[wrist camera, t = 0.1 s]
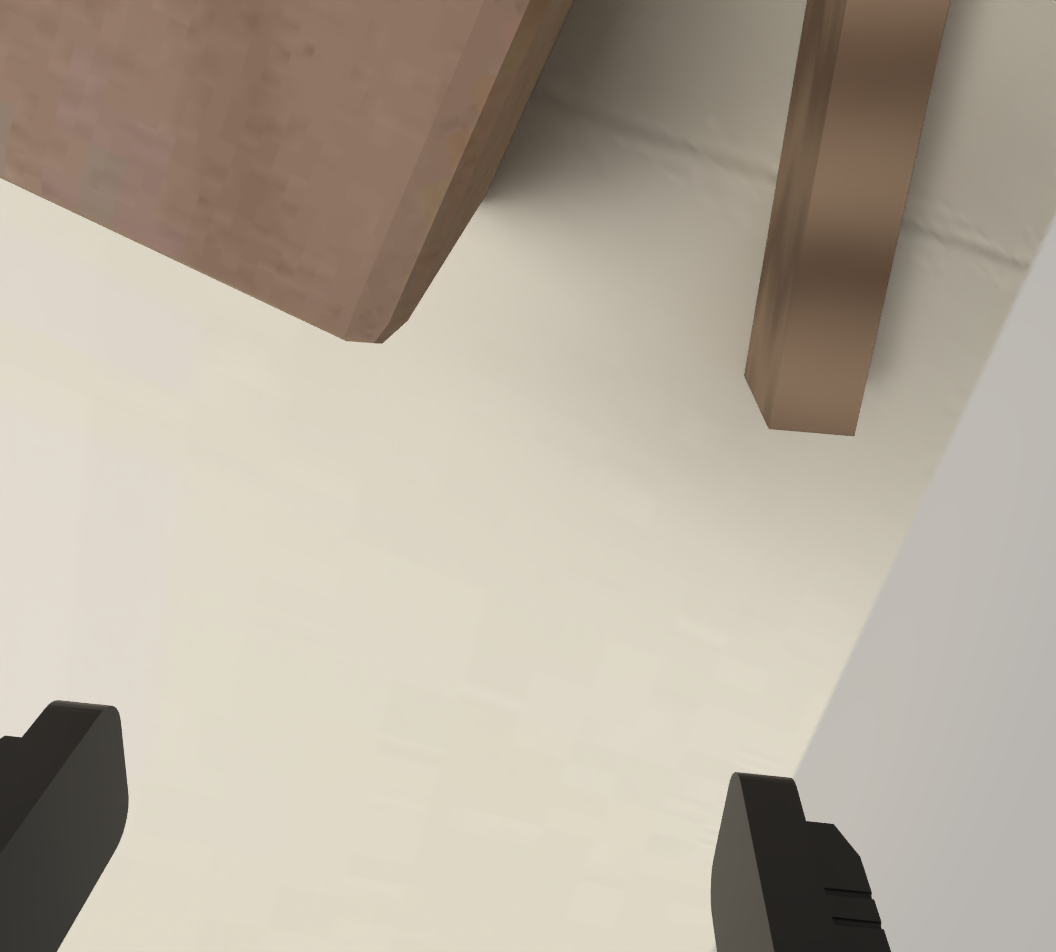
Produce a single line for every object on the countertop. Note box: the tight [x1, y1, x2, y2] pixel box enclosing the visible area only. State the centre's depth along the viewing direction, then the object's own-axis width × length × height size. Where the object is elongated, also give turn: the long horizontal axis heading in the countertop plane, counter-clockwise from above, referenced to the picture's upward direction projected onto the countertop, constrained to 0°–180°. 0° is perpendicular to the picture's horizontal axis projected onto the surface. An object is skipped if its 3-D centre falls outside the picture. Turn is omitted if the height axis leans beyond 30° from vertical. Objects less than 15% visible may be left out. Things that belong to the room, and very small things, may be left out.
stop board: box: [744, 0, 950, 436], centre depth 33 cm, size 24×3×6 cm, turn 176°
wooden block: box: [0, 0, 574, 343], centre depth 27 cm, size 10×10×20 cm
